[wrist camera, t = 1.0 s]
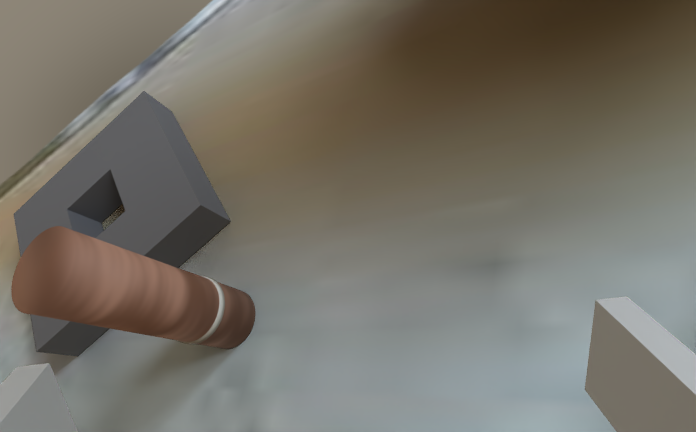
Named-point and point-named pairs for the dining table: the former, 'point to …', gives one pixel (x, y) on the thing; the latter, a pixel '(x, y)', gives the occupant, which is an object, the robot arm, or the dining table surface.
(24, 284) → the peg
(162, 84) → the dining table surface
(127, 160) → the board
